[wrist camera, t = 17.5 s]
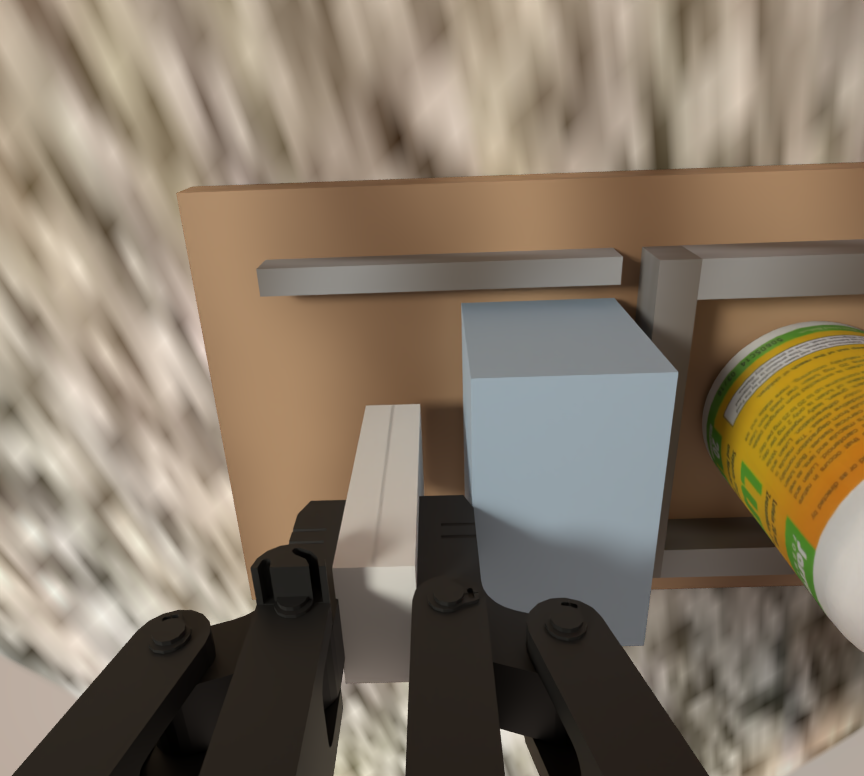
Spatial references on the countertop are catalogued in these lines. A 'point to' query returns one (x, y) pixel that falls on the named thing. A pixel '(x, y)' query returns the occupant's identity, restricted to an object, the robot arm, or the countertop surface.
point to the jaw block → (566, 454)
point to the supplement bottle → (800, 454)
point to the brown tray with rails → (499, 282)
